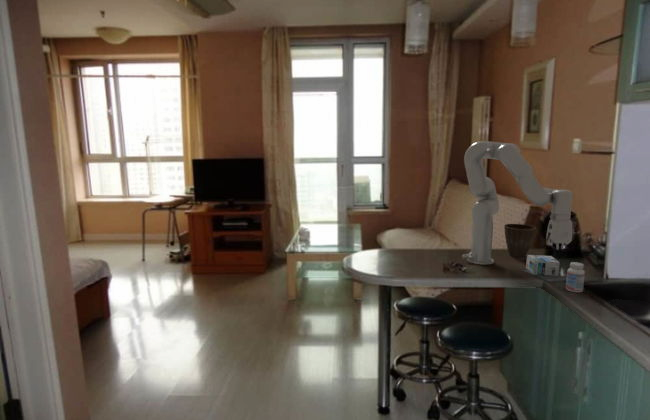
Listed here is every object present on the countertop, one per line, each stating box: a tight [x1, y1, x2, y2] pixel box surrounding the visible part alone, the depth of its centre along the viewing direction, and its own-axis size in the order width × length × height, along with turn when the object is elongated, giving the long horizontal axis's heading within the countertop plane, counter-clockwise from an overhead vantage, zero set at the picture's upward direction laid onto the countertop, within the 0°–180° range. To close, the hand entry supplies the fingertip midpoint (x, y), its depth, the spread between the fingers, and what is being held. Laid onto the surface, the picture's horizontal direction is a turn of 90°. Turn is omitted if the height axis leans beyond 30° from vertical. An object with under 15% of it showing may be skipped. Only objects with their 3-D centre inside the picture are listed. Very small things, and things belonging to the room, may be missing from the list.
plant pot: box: [503, 223, 537, 259], centre depth 216 cm, size 15×15×16 cm
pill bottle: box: [565, 261, 586, 293], centre depth 166 cm, size 6×6×11 cm
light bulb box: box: [525, 254, 560, 276], centre depth 189 cm, size 11×7×11 cm
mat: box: [522, 269, 567, 283], centre depth 186 cm, size 11×16×1 cm
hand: (556, 257), depth 186 cm, fingers closed
